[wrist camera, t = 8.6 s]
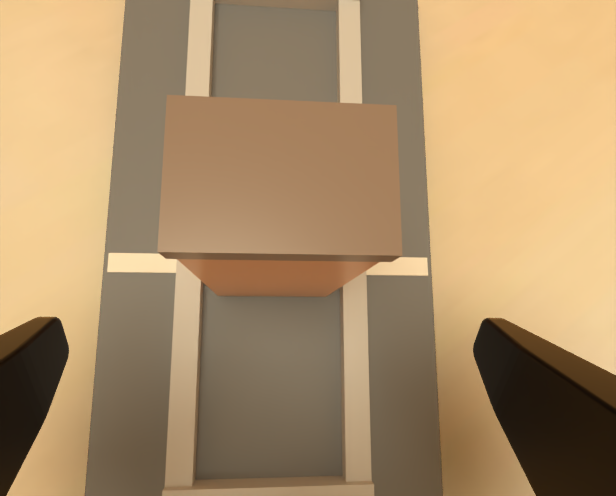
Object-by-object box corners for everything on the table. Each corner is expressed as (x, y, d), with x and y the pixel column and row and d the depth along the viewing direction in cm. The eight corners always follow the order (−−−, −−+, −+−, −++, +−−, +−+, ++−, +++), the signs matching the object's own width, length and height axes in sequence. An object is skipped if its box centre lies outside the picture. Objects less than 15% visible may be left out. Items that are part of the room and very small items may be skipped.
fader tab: (328, 299, 20) (402, 255, 9) (215, 298, 19) (157, 251, 9) (327, 225, 20) (396, 105, 10) (218, 223, 20) (167, 94, 9)
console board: (434, 503, 20) (455, 524, 18) (91, 516, 18) (69, 539, 16) (410, 3, 24) (425, -29, 22) (133, -15, 23) (120, -52, 21)
